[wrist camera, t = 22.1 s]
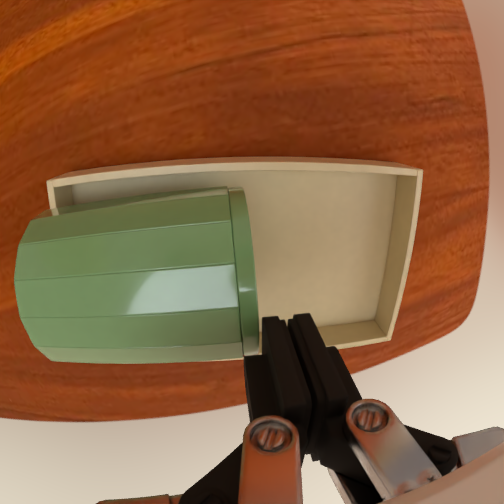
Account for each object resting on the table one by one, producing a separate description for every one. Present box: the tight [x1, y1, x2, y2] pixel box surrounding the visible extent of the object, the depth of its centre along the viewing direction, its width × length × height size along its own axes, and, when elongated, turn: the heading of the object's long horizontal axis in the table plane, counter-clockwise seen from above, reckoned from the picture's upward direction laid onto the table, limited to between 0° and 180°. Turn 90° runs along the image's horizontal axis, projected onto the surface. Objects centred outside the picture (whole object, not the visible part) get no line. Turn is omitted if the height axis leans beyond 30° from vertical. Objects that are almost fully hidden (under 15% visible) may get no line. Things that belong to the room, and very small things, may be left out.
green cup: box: [14, 186, 260, 364], centre depth 13 cm, size 7×7×9 cm
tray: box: [47, 157, 423, 362], centre depth 16 cm, size 19×11×3 cm, turn 90°
